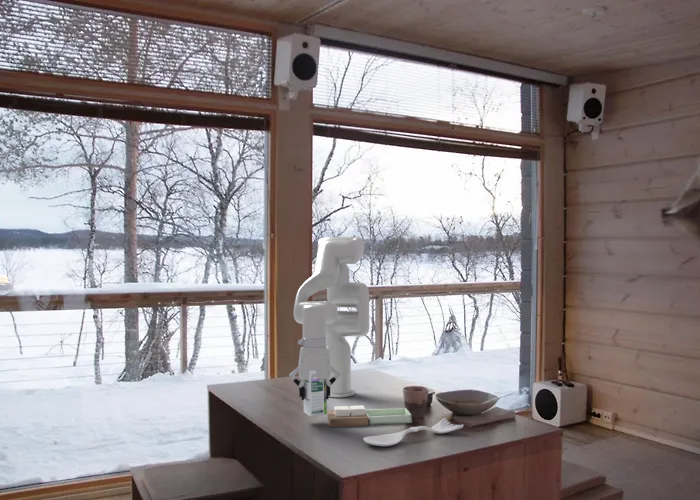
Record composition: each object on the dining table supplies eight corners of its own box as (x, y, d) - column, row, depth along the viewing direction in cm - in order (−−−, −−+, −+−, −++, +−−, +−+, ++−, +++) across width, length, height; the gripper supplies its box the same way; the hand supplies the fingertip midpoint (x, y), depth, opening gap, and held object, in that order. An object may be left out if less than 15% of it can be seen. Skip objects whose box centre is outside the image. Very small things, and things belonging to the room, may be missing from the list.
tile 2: (349, 412, 205) (349, 405, 205) (363, 411, 205) (363, 405, 205) (351, 415, 200) (351, 409, 200) (365, 415, 201) (365, 408, 201)
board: (327, 418, 207) (327, 410, 207) (363, 416, 208) (363, 409, 208) (330, 427, 197) (330, 419, 197) (368, 425, 198) (368, 417, 198)
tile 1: (334, 412, 204) (334, 406, 204) (348, 412, 205) (348, 405, 205) (335, 416, 200) (335, 410, 200) (349, 415, 200) (349, 409, 200)
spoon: (464, 434, 189) (464, 423, 189) (374, 453, 172) (374, 440, 172) (445, 427, 196) (445, 416, 196) (357, 444, 180) (357, 432, 180)
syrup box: (310, 417, 197) (310, 370, 197) (303, 412, 202) (302, 367, 202) (327, 414, 200) (326, 368, 200) (319, 410, 205) (319, 365, 205)
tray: (365, 417, 208) (365, 409, 208) (405, 415, 210) (405, 407, 209) (369, 424, 199) (369, 416, 199) (412, 423, 201) (411, 415, 201)
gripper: (287, 345, 196) (287, 402, 196) (342, 344, 198) (343, 400, 199) (286, 342, 204) (287, 397, 204) (340, 340, 206) (340, 394, 206)
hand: (314, 398), depth 201 cm, fingers closed on syrup box, 7 cm apart
